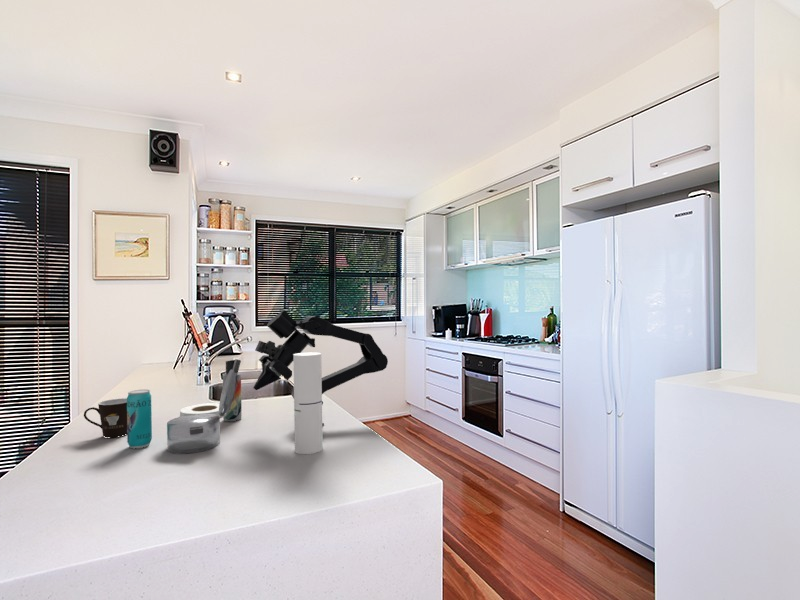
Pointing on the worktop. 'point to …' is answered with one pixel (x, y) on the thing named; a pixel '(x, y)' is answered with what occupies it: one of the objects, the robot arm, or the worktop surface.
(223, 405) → the lid
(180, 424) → the pot
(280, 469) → the worktop surface
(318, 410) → the cylindrical container
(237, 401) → the lotion bottle
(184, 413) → the roll of tape
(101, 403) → the coffee mug
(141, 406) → the beverage can
